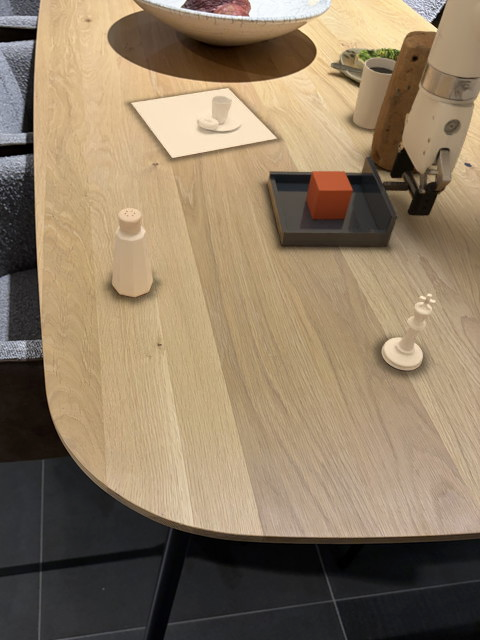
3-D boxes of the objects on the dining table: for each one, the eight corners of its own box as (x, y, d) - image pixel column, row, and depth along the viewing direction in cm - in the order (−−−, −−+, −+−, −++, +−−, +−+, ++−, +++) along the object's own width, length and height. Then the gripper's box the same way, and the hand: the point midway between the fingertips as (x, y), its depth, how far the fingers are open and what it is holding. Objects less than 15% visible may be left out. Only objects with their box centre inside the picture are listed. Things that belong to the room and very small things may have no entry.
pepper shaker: (150, 269, 82) (149, 199, 73) (155, 296, 78) (155, 226, 70) (110, 271, 81) (105, 201, 72) (113, 299, 77) (108, 228, 69)
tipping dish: (393, 186, 98) (405, 153, 94) (422, 246, 88) (436, 213, 84) (267, 184, 96) (272, 151, 92) (281, 245, 87) (288, 211, 82)
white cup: (390, 130, 110) (408, 74, 102) (355, 130, 109) (370, 74, 102) (380, 112, 114) (396, 57, 107) (346, 112, 114) (360, 57, 106)
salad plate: (334, 92, 119) (340, 68, 115) (321, 53, 130) (326, 30, 127) (430, 96, 120) (439, 73, 116) (409, 58, 131) (416, 35, 128)
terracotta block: (337, 199, 93) (344, 171, 90) (344, 219, 90) (353, 190, 86) (305, 200, 93) (311, 170, 89) (312, 219, 90) (319, 190, 86)
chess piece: (387, 335, 76) (412, 274, 68) (425, 349, 75) (456, 289, 67) (376, 361, 73) (402, 300, 65) (416, 376, 72) (447, 316, 64)
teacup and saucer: (204, 137, 105) (205, 114, 102) (186, 115, 109) (187, 93, 106) (248, 129, 107) (251, 107, 104) (229, 108, 112) (231, 86, 109)
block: (366, 168, 101) (403, 42, 86) (368, 146, 106) (403, 22, 91) (431, 179, 100) (481, 53, 85) (430, 156, 105) (477, 33, 90)
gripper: (505, 113, 72) (451, 231, 85) (457, 51, 83) (416, 164, 96) (445, 112, 72) (399, 230, 85) (405, 49, 83) (370, 163, 96)
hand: (408, 195), depth 91 cm, fingers open, 9 cm apart
